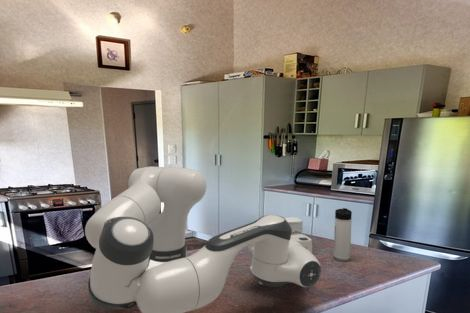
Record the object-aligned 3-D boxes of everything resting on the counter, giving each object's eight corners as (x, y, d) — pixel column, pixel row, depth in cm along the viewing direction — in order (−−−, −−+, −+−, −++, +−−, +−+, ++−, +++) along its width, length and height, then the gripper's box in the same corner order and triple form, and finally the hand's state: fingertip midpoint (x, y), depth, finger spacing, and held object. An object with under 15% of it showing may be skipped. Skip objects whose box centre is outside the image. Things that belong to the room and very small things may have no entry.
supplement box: (286, 250, 128) (287, 221, 127) (280, 244, 135) (280, 217, 134) (302, 249, 130) (303, 221, 129) (295, 243, 137) (295, 216, 136)
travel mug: (351, 257, 121) (353, 209, 120) (348, 263, 116) (350, 212, 115) (335, 254, 125) (337, 207, 123) (331, 259, 119) (333, 210, 118)
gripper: (254, 264, 90) (242, 247, 104) (315, 258, 95) (296, 242, 108) (254, 243, 90) (242, 229, 103) (316, 238, 94) (297, 225, 108)
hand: (271, 236), depth 106 cm, fingers closed on sauce bottle, 6 cm apart
